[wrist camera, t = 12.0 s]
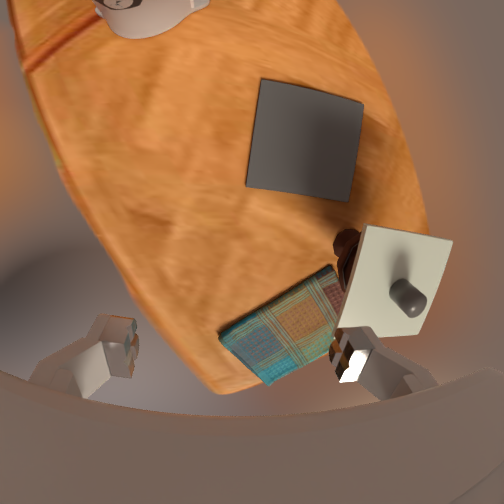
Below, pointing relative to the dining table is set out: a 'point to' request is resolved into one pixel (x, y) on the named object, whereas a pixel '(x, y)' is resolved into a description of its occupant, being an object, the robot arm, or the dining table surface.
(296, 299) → the dish towel
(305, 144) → the mat
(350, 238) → the ice cream bowl
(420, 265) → the lid
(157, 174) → the dining table surface
